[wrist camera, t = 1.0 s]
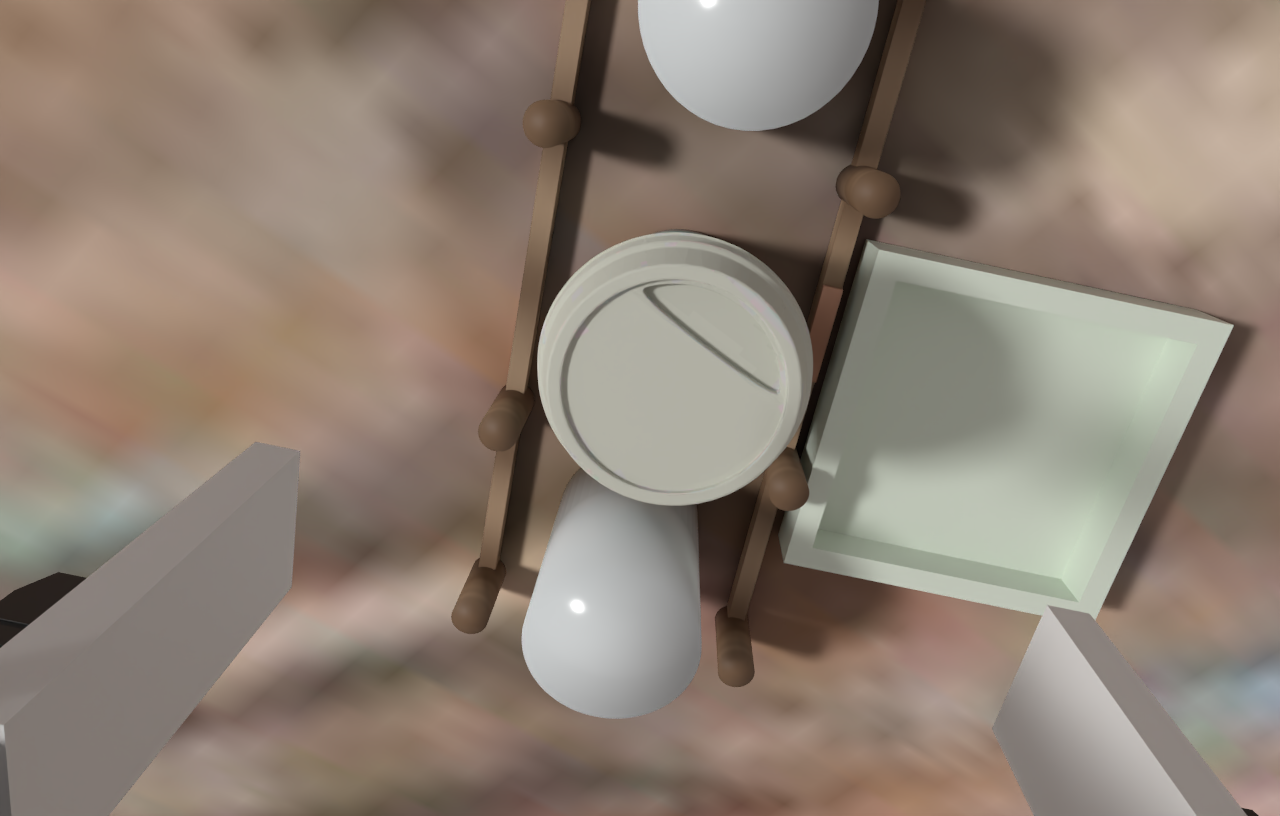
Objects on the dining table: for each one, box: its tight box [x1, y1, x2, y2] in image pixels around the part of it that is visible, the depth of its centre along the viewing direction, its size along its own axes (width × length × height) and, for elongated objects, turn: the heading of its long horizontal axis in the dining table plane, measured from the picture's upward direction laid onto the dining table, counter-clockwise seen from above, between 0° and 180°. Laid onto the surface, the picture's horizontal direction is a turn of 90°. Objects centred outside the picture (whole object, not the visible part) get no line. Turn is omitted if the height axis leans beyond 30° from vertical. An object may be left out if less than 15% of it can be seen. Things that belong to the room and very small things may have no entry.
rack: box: [451, 0, 926, 687], centre depth 34 cm, size 32×14×4 cm, turn 169°
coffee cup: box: [537, 229, 813, 506], centre depth 30 cm, size 8×8×12 cm
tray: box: [778, 239, 1234, 620], centre depth 36 cm, size 14×14×2 cm
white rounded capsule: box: [522, 468, 701, 719], centre depth 35 cm, size 6×6×10 cm
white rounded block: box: [638, 0, 879, 131], centre depth 27 cm, size 6×6×10 cm
